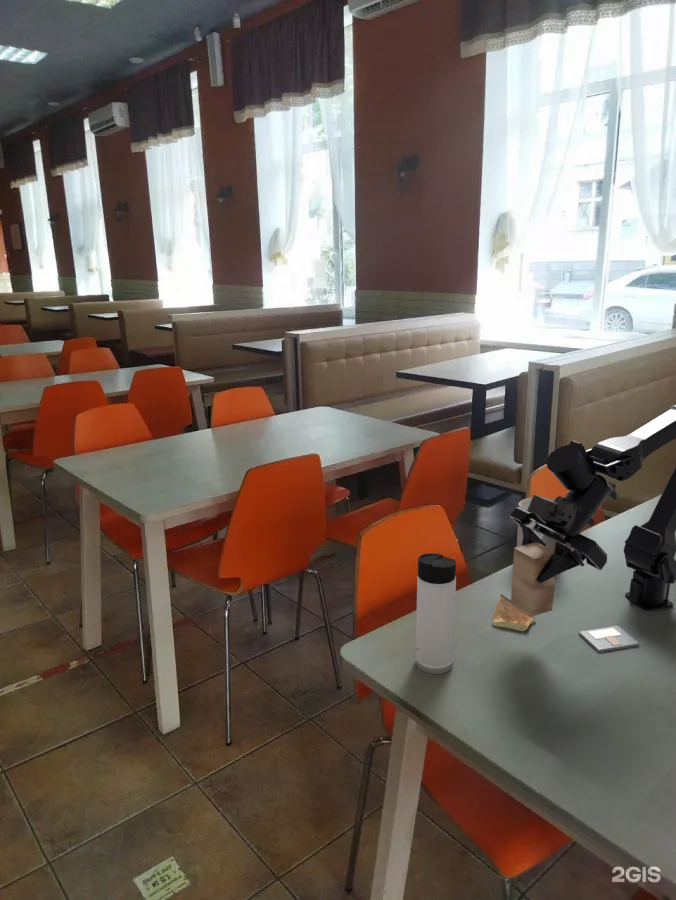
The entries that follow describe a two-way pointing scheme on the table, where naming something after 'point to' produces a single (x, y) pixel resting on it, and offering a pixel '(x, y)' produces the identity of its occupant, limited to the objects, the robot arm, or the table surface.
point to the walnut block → (531, 580)
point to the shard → (510, 616)
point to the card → (608, 638)
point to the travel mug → (435, 613)
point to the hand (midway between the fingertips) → (527, 575)
